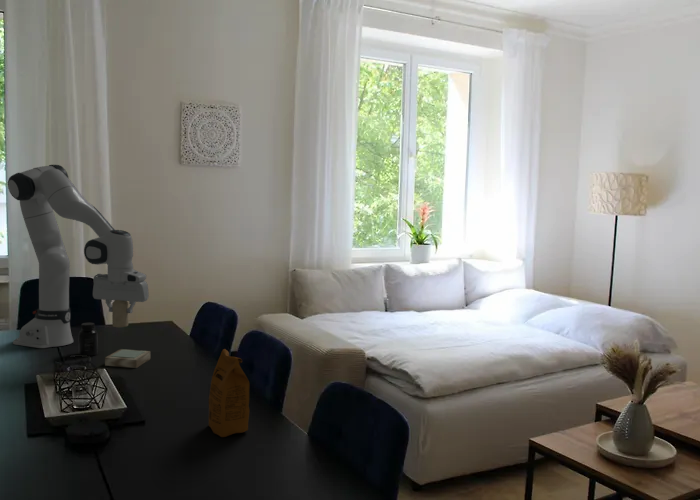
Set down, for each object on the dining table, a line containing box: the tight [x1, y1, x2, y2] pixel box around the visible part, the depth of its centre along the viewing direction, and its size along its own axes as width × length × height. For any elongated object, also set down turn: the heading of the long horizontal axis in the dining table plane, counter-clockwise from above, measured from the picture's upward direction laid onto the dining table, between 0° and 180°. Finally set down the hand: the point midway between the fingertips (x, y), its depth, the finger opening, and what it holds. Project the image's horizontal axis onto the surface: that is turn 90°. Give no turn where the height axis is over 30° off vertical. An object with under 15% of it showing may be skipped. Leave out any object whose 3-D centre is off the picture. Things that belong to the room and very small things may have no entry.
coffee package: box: [208, 348, 250, 438], centre depth 183 cm, size 10×12×22 cm
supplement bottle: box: [78, 322, 99, 357], centre depth 251 cm, size 7×7×12 cm
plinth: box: [104, 348, 151, 369], centre depth 243 cm, size 12×12×3 cm
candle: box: [111, 300, 129, 328], centre depth 239 cm, size 6×6×10 cm
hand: (120, 312), depth 239 cm, fingers closed on candle, 5 cm apart
